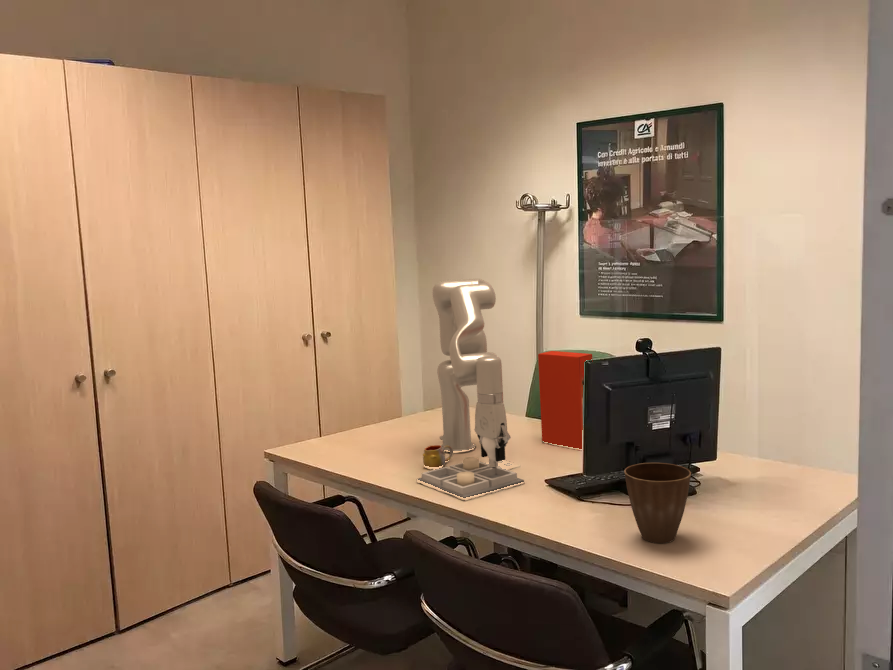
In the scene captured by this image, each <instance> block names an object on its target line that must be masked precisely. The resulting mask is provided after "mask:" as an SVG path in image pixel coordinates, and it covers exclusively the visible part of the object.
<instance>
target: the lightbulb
mask: <svg viewBox="0 0 893 670" xmlns="http://www.w3.org/2000/svg"><path fill="white" fill-rule="evenodd" d="M499 437H500V435H499ZM498 440H499V443H500V441H501V439H498ZM482 446H483V448H484V450H485V451H486V452H487V455H488V456H487V458H488V462H489V466H490V467H491V468H496V467H498V462H497V461H496V457H495V448H497V447H496V443H495V440H494V439H490V438H486V437H483V438H482Z"/></svg>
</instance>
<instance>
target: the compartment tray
mask: <svg viewBox="0 0 893 670" xmlns="http://www.w3.org/2000/svg"><path fill="white" fill-rule="evenodd" d="M420 476H421V477H419V478H417V479H418V480H420V481H423V482H425V483H428V484H431V485H433V486H435V487H438V488H440V489H442V490H444V491H447V492H449V493H452V494H455V495H457V496H460V497H463V498H466V497H470V496H474V495H478V494H482V493H486V492H490V491H494V490H497V489H501V488H504V487H507V486H510V485H514V484H518V483H521V482H524V483H525V479H522V478H519V477H518V473H517V472H515V471H512V470H506V469H502V468H499V467H496V468H491V467H490V466H489V464H486V462H482V461H480V458H478V457H475V456H469V457H465V458H462V462H460V463H455V464H452V465H449V466H445V467H443V468H439V469H435V470H428V471H425V472H421V474H420Z"/></svg>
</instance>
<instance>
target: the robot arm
mask: <svg viewBox="0 0 893 670" xmlns="http://www.w3.org/2000/svg"><path fill="white" fill-rule="evenodd" d="M432 300H433V304H434V307H435V308H436V311H437V314H438V321H439V322H438V323H439V338H440V339H439V343H440V349H441V352H442V354H443V355H444V356H449V358H450V359H447V360H443V361H442V362H440V364H439V365H437V378H438V379H437V380H438V383H439V387H440V388H439V389H440V396H441V397H440V398H441V411H442V430H443V434H442V435H440V436H439V440H441V441H442V444H440V445H441V446H442V448H443V447H444V446H446V445H448V446H450V447H451V448H452V449H453V451H462V450H469V449H472V448H474V447H475V446H476V444H475V443H474V442H472V433H471V431H472V430H471V414H470V413H471V412H470V399H469V396H468V395H467V393H466V392H465V391H464V390H463V389H462V387H468V386H470V387H471V386H476V392H477V393H476V394H477V395H476V396H477V402H476V403H475V412H474V429H473V430H474V432H475V434H476V435H477V438H478V440H479V441H478V442H479V444H480V456H481V457H482V458H486V457H487V458H488V455H487V452H486V451H485V450H484V448H483V446H482V438H483V437H486V438H490V439H494V440H495V443H496V447H497V448H495V457H496V461H497V462H498V461H502V460H506V447H507V444H508V443H509V441H510V440H511V435H510V433H509V432H508V421H507V419H508V418H507V415H506V409H505V404H504V390H503V388H504V387H503V366H502V364H503V363H502V359H501V358H500V357H499V356H497V354H496V353H494V352H491V351H490V352H488V343H487V336H486V333H485V331H484V328H485V321H484V318H483V313H482V310H490V309H492V308H494V307H495V305H496V300H497V299H496V293H495V290H494V288H493V286H492V285H491V284H490V283H489V282H487V281H486V280H484V279H481V278H466V279H463V278H462V279H450V280H449V279H447V280H442V281H441V280H440V281H438V282H436V283H435V284H434V285H433V288H432ZM499 435H500V437H499ZM498 439H501V441H500V443H499V440H498ZM473 444H474V445H473ZM476 447H477V446H476ZM444 450H448V451H450V449H449V448H445V449H444Z"/></svg>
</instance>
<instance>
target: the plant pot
mask: <svg viewBox="0 0 893 670" xmlns="http://www.w3.org/2000/svg"><path fill="white" fill-rule="evenodd" d="M623 471H624V478H625V482H626V483H625V484H626V489H627V495H628V498H629V502H630V506H631V510H632V513H633V516H634V520H635V522H636V523H635V524H636V525H637V527H638V530H639V533H640V535H641V538H642V539H643V540H644V541H646V542H649V543H653V542H654V544H666V542H668V543H671V542H674V540H675V538H676V536H677V534H678V530H679V528H680V525H681V523H682V519H683V516H684V512H685V509H686V505H687V500H688V497H689V496H688V495H689V489H690V482H691V477H692V472H691V471H690V469H689V468H688V467H684V466H682V465H678V464H673V463H667V462H643V463H642V462H641V463H637V464H632V465H629V466H627V467H626V468H625V469H624V470H623ZM670 541H671V542H670Z"/></svg>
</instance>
